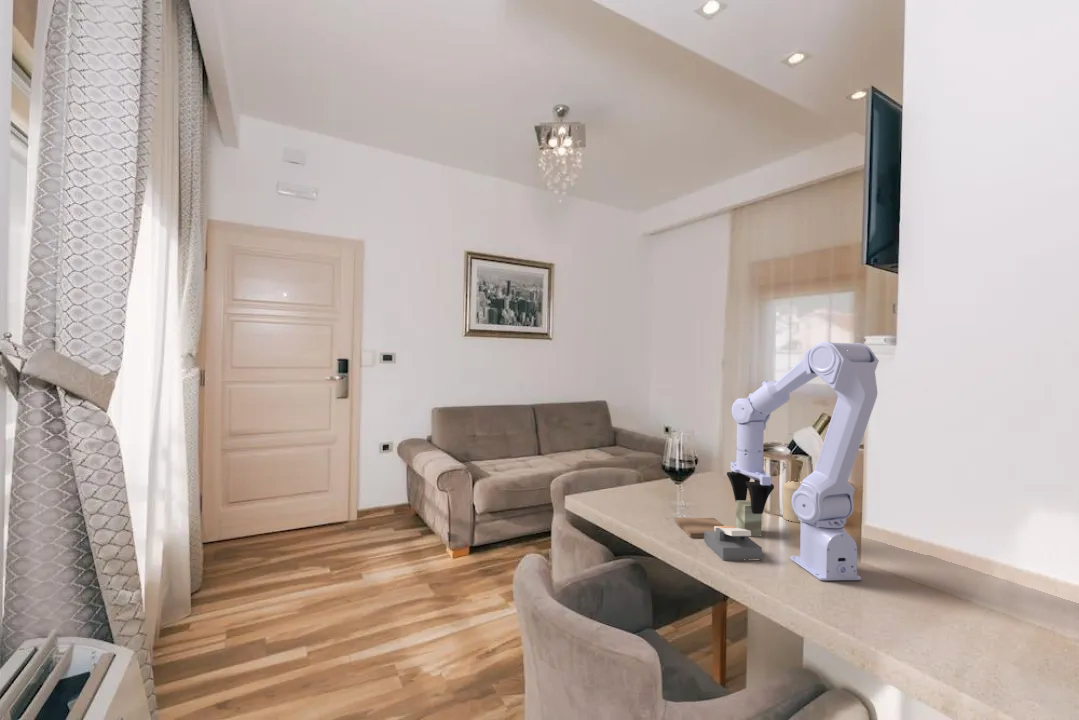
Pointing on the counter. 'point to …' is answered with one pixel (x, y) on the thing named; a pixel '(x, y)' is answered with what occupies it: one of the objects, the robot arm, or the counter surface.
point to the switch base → (732, 546)
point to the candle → (789, 500)
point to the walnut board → (697, 525)
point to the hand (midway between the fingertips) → (748, 507)
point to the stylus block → (748, 517)
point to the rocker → (734, 531)
